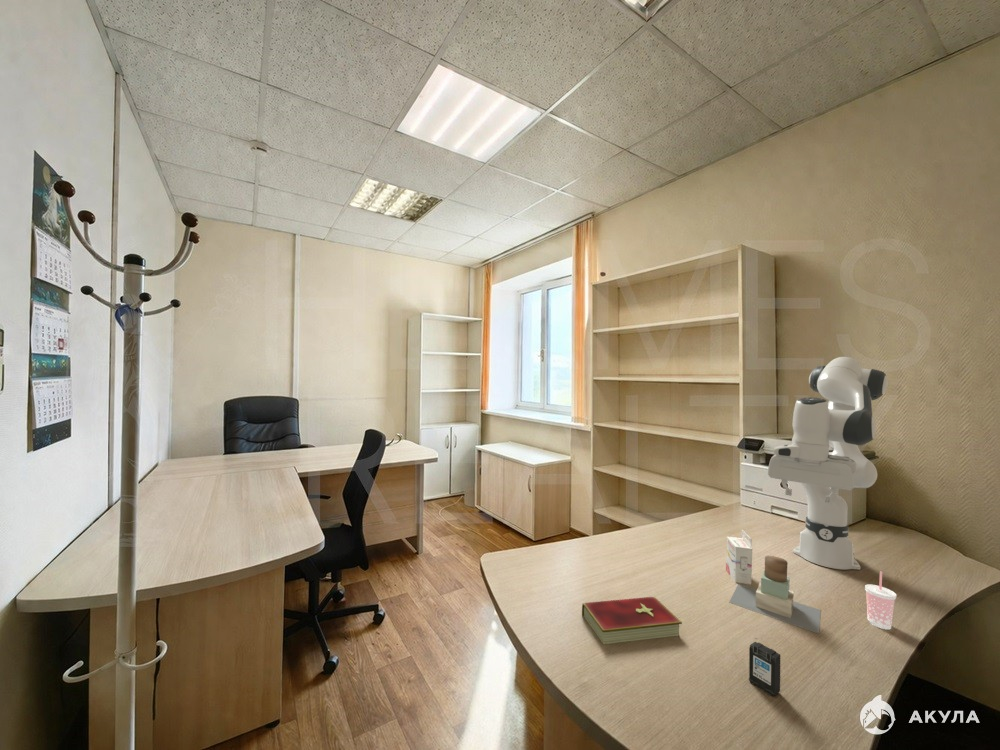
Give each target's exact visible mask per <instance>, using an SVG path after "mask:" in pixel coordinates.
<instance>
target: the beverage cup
mask: <svg viewBox="0 0 1000 750" xmlns="http://www.w3.org/2000/svg"><path fill="white" fill-rule="evenodd" d="M878 584H879V585H876V584H865V585H864V590H865V591H866V594H865V595H866V611H867V612H866V613H867V617H866V618H867V620H868V621H869V624H871V625H872V626H873V627H876V628H880V629H881V630H891V629H892V624H893V616H894V609H895V606H894V605H895V601H896V599H897V593H895V592H894V591H893V590H891V589H889V588H887V587H885V586H883V585H882V584H883V571H881V570H880V571H879V583H878Z"/></svg>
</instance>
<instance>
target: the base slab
mask: <svg viewBox="0 0 1000 750" xmlns="http://www.w3.org/2000/svg"><path fill="white" fill-rule="evenodd" d="M794 594H795V591H793V590H790V589H789V594H788V598H787V600H784V599H781V598H778V597H775V596H772V595H769V594H765V593H762V592H761V580H760V582H759V583H758V587H757V591H756V607H759V608H762V609H765V610H768V611H771V612H774V613H776V614H779V615H782V616H785V617H788V618H791V615H792V610H793V602H795V601H794V598H795V595H794Z"/></svg>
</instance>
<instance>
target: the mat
mask: <svg viewBox="0 0 1000 750" xmlns="http://www.w3.org/2000/svg"><path fill="white" fill-rule="evenodd" d="M756 591H757V589H756V588H753V587H750V586H747V585H743V584H742V583H738V584H737V586H736V588H735V589H734V592H733V593H732V596H731V598H730V599H729V600H728V603H729V604H732V605H735V606H738V607H740V608H744V609H747V610H749V611H752V612H755V613H758V614H762V615H763V616H767V617H769V618H772V619H775V620H777V621H781V622H783V623H786V624H790V625H792V626H795V627H798V628H801V629H803V630H807V631H810V632H812V633H815V634H818V635H819V634H820V628H821V627H820V625H821V614H822V613H821V612H822V609H819V608H816V607H812V606H809V605H806V604H803V603H801V602H797V601H794V602H793V610H792V615H791V618H788V617H785V616H782V615H779V614H776V613H774V612H771V611H768V610H765V609H762V608H759V607H756Z"/></svg>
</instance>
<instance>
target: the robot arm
mask: <svg viewBox="0 0 1000 750" xmlns="http://www.w3.org/2000/svg"><path fill="white" fill-rule="evenodd" d="M808 376H809V377H808V384H809V387H810V389H811V390H812V391H813V392H816V393H819V394H820V395H821V397H823V398H820V397H801V398H799V399H796V401H795V404H794V408H793V415H792V429H793V436H792V438H791V444H784V445H779V446H777V445H776V446H775V447H774V448H773V455H772V456H771V458H770V460H769V464H768V467H767V475H768V477H770V478H771V479H775V480H780V481H781V482H780V484H781V485H782V486H783V488H784V489H785V493H784V494H785V496H789V497H792V494H793V493H792V492H793V490H792V489H791V488H789V486H788V485H787V484H788V483H789V482H795V483H800V484H801V486H802V487H803V489H804V491H805V495H806V500H807V516H806V517H805V528H804V529H803V530H802V531H800V532H799V544H798V545H797V546H795V548H793V550H792V553H793V554H795V555H798V556H800V557H802V559H804V560H807V561H808V562H811V563H813V564H816V565H818V566H822V567H826V568H830V569H834V570H845V571H846V570H859V571H860V570H861V569H862V568H861V565H860V564H859V562H858V561H857V559H856V558H855V557H854V556H855V553H854V547H855V546H854V543H853V541H851V539H850V538H849V532H850V529H849V524H848V504H847V502H846V500H845V499H844V498H843V497H842V496H840V495H838V494H837V493H838V490H844V491H852V490H854V489H855V488H856V489H857V488H858V489H869V488H870V487H872V486H873V485H875V483H876V481H877V479H878V470H877V468H876V466H875V464H874V463H873V462H872V461H871V460H869V459H868V458H867V457H866V456H865V455H864V454H863V453H862V451H861V450H860V448H859V446H860V447H861V446H865V445H866V444H869V443H871V442H872V441H874V438H875V436H876V432H877V426H876V421H875V419H874V417H873V403H872V401H874V400H875V401H876V400H878V399H879V398H881V397H883V395H884V393H886V391H887V390H888V387H889V380H888V376H887V374H886V373H885V371H882V370H879V369H876V368H875V369H874V368H872V369H870V368H869V369H868V368H864V367H862V365H861V363H860V362H859V361H857V359H855V358H854V357H853V358H852V357H850V356H839V357H836V358H834V359H832V360H831V361H829V362H828V364H826V365H819V366H817V367H815V368H813V369H812V370H811V373H810V375H808ZM830 447H831V448H832V449H833V451H830ZM788 481H789V482H788Z"/></svg>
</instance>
